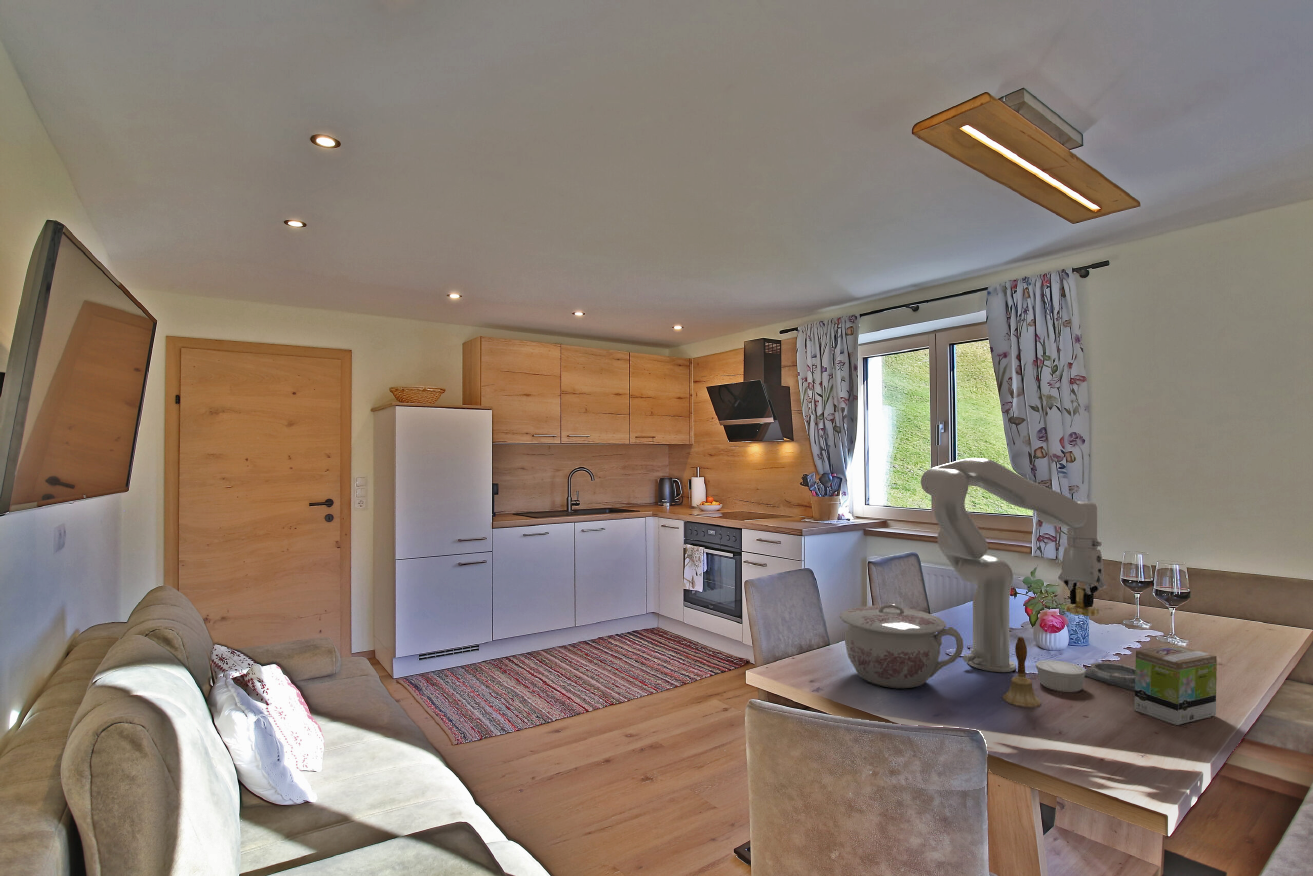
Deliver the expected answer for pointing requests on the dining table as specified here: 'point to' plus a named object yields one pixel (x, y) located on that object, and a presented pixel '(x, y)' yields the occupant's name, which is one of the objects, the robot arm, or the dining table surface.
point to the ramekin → (1061, 675)
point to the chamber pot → (896, 644)
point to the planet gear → (1080, 604)
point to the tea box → (1175, 684)
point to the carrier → (1113, 674)
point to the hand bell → (1021, 681)
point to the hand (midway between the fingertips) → (1081, 605)
